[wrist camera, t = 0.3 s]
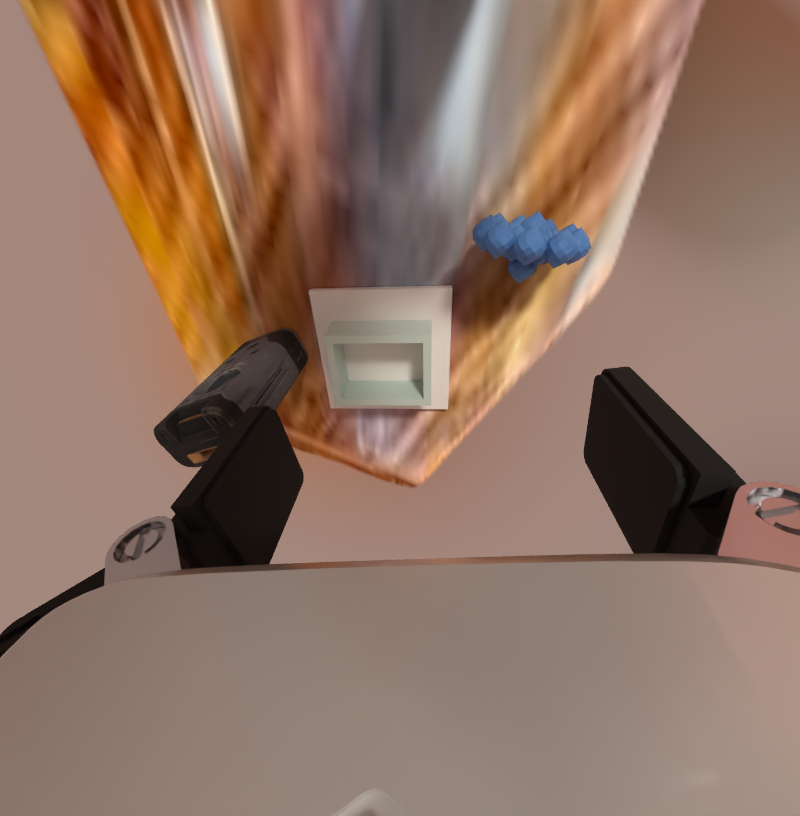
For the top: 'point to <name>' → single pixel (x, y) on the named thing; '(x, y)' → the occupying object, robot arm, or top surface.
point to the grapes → (530, 243)
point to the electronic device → (232, 395)
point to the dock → (384, 345)
